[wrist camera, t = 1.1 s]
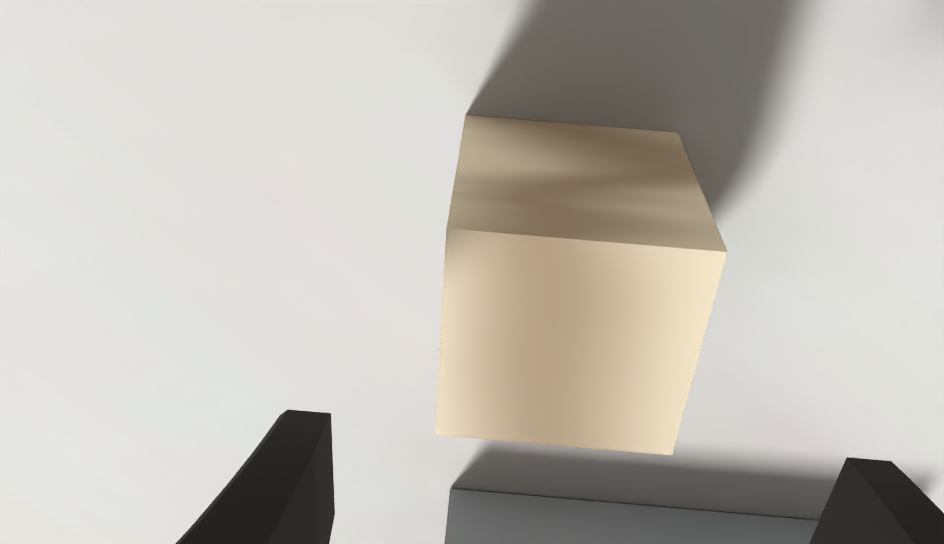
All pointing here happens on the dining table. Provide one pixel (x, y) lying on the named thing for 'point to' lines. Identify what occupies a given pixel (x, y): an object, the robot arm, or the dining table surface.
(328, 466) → the robot arm
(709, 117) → the dining table surface
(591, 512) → the slate plinth
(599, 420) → the ash block
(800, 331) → the dining table surface
